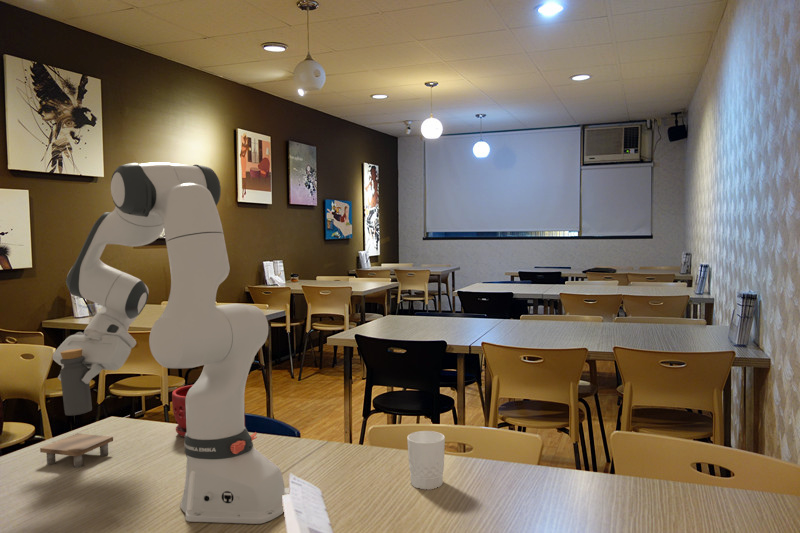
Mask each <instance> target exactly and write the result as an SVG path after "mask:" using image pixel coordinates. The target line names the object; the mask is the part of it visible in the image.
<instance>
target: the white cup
mask: <svg viewBox="0 0 800 533" xmlns="http://www.w3.org/2000/svg"><path fill="white" fill-rule="evenodd" d="M445 436H446V435H444V433H441V432H438V431H433V430H419V431H414V432H411V433H410V434H409V433H408V435H407V437H406V438H407V439H406V440H407V441H406V442H407V452H408V454H407V455H408V468H409V472H410V473H409V474H410V476H409V477H410V484H411V485H412V487H413V488H416V489H418V488H420V489H419V490H426V489H427V490H434V489H433V488H435V489H438V488H440V487H441V486H442V485H443V483H444V482H443V480H444V477H443V475H444V470H445V468H444V466H445V446H446V444H445V443H446V442H445V441H446V437H445ZM437 487H438V488H437Z"/></svg>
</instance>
